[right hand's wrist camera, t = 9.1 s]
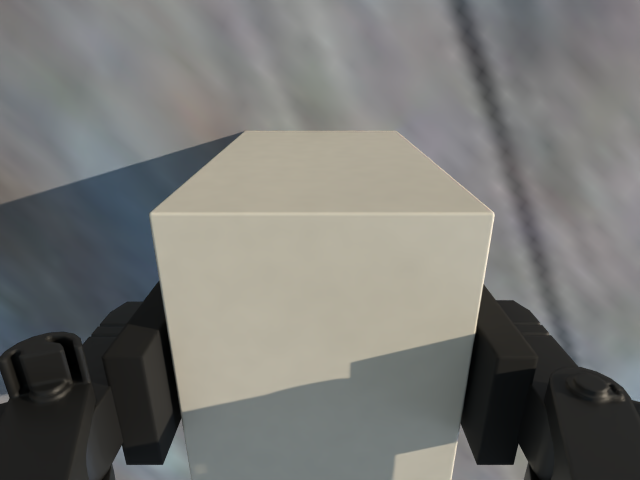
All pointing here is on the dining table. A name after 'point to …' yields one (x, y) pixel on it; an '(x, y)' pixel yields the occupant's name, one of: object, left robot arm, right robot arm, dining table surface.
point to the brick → (321, 307)
